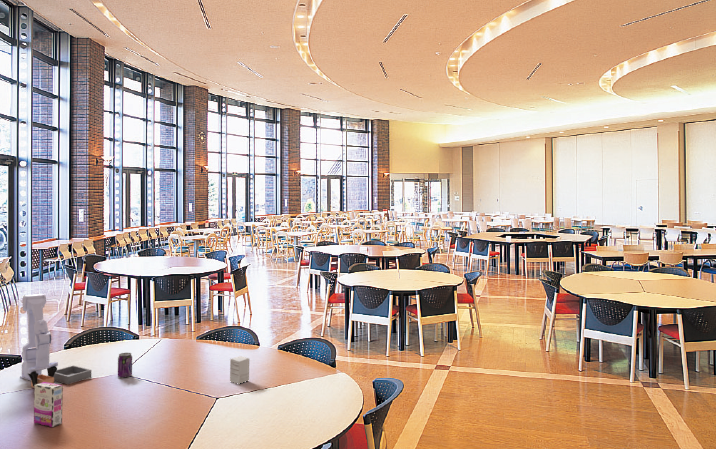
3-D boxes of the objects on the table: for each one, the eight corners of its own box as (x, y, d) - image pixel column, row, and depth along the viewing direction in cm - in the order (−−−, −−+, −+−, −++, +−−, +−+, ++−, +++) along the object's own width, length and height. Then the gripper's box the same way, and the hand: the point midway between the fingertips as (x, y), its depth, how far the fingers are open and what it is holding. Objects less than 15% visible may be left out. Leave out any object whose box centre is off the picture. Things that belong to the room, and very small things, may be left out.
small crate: (31, 386, 257) (31, 377, 257) (41, 383, 262) (41, 374, 262) (43, 390, 252) (43, 380, 252) (53, 387, 257) (54, 377, 257)
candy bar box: (63, 423, 215) (63, 384, 215) (52, 428, 211) (52, 388, 210) (44, 418, 219) (44, 381, 219) (33, 423, 215) (33, 384, 214)
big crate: (49, 379, 268) (49, 371, 268) (73, 372, 280) (73, 365, 280) (68, 384, 261) (68, 376, 261) (91, 377, 273) (91, 369, 273)
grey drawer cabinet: (240, 378, 278) (240, 355, 278) (249, 381, 274) (249, 358, 273) (229, 382, 272) (229, 358, 272) (238, 385, 268) (239, 361, 267)
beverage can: (126, 378, 272) (126, 356, 272) (114, 377, 274) (115, 355, 273) (134, 374, 279) (135, 352, 279) (123, 373, 281) (123, 351, 280)
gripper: (33, 362, 248) (32, 389, 249) (61, 354, 261) (61, 381, 262) (24, 359, 252) (24, 387, 252) (53, 352, 265) (52, 378, 265)
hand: (42, 383), depth 257 cm, fingers open, 7 cm apart
